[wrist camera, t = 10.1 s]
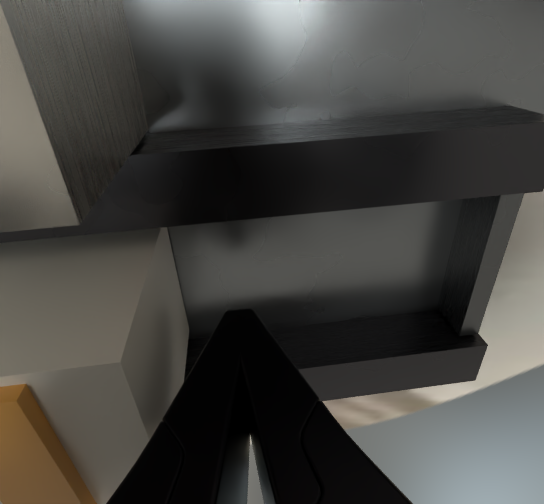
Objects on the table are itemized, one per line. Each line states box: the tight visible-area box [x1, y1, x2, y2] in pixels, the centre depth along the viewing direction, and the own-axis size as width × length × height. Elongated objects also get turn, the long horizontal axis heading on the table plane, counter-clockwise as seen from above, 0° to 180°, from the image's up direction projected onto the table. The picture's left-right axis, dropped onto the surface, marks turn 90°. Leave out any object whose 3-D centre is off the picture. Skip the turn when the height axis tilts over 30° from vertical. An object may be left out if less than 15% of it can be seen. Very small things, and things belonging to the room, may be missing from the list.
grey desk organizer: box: [0, 0, 544, 401], centre depth 8 cm, size 16×11×6 cm
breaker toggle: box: [0, 227, 189, 504], centre depth 8 cm, size 4×4×5 cm
